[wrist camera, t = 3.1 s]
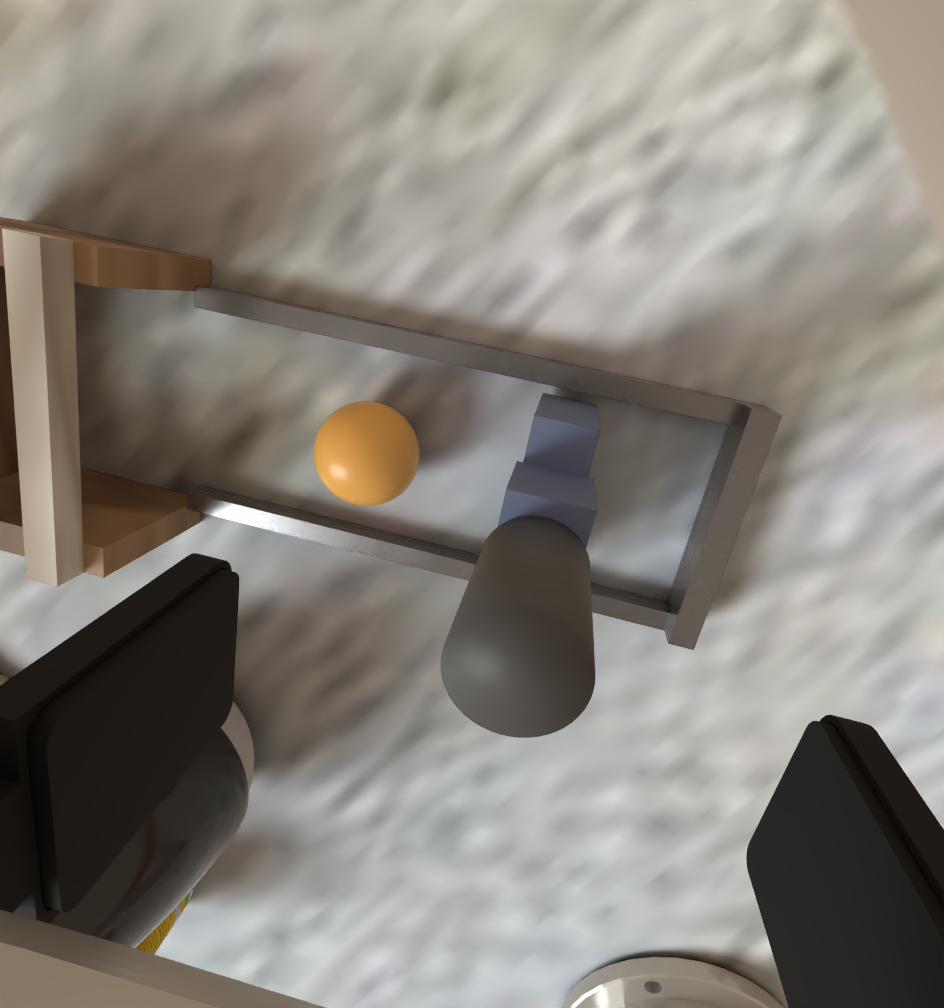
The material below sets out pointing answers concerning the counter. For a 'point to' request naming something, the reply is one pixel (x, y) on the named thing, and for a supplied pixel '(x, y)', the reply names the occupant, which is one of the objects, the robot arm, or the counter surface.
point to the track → (745, 420)
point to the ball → (366, 453)
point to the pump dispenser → (172, 843)
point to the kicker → (532, 588)
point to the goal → (70, 406)
